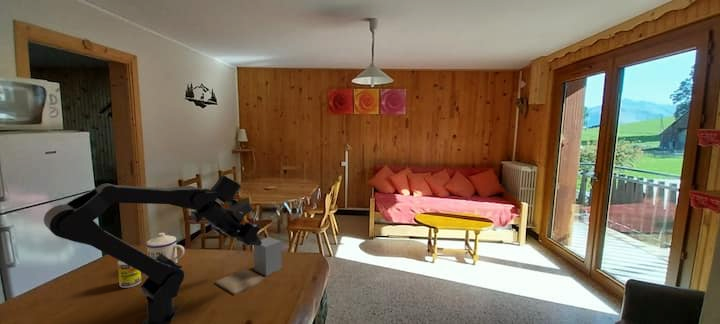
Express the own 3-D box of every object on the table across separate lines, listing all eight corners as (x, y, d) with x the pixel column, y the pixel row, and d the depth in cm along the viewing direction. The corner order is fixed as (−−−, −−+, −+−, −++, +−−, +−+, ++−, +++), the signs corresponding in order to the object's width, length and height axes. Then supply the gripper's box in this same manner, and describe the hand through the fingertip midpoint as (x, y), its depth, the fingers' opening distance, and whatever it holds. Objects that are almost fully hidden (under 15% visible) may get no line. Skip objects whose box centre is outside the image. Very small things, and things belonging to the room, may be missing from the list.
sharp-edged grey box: (266, 275, 101) (265, 247, 100) (254, 270, 105) (253, 242, 104) (281, 268, 106) (281, 241, 105) (269, 263, 110) (269, 237, 109)
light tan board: (234, 295, 90) (234, 293, 90) (215, 283, 96) (214, 281, 96) (266, 280, 99) (265, 278, 98) (246, 270, 105) (245, 268, 105)
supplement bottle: (118, 290, 91) (115, 258, 90) (120, 282, 96) (117, 251, 94) (141, 285, 94) (139, 253, 93) (142, 277, 99) (140, 247, 98)
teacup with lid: (141, 271, 103) (139, 238, 102) (158, 259, 112) (156, 228, 111) (177, 271, 104) (175, 238, 102) (191, 259, 113) (189, 229, 111)
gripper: (253, 198, 88) (284, 225, 98) (218, 189, 98) (249, 214, 109) (229, 232, 82) (264, 257, 92) (195, 218, 93) (230, 242, 103)
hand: (252, 240), depth 99 cm, fingers open, 9 cm apart
